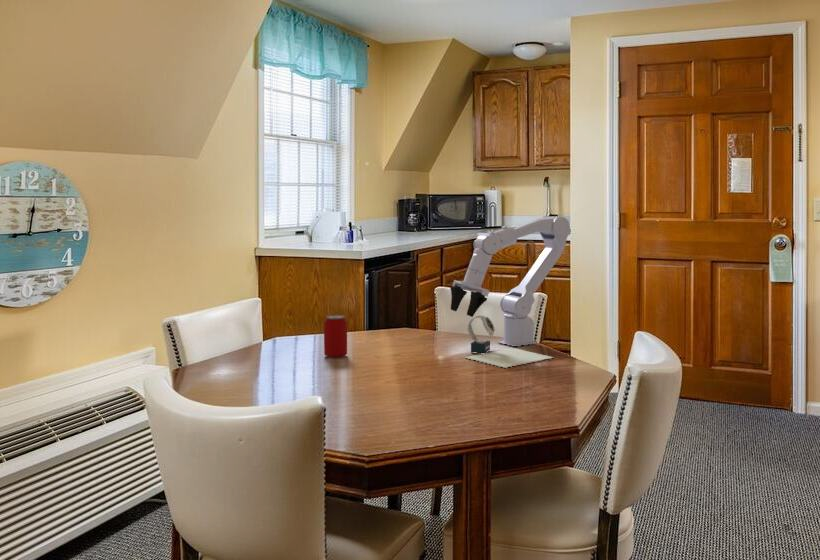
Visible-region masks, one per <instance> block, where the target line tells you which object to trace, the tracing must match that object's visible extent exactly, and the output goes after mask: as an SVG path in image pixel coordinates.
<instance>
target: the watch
mask: <svg viewBox="0 0 820 560" xmlns="http://www.w3.org/2000/svg"><path fill="white" fill-rule="evenodd" d="M475 319H480V320H481V322H482V326H483V328H484V329H485V331H486V332H487V333H488V335H489V337H488V338H487V339H485V340H483V339H482V340H481V339H478V338H477V336H476V334H475V333H474V330H473V326H472V322H473V321H474V320H475ZM467 332H468V334H469V337H470V338H471V340H472V341H473V342H470V353H471V352H477V353H486V352H487V351H488V350H490V351H491V339H492V338H493V336H494V333H495V326H494V324H493V322H492V320H491V319H490V318H489V317H488V316H485V315H477V316H475V317H474V316H473V317H471V319H470V320H469V322H468V324H467Z"/></svg>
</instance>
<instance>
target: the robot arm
mask: <svg viewBox="0 0 820 560" xmlns="http://www.w3.org/2000/svg"><path fill="white" fill-rule="evenodd" d="M537 232H538V233H539V234H540V236H541V239H542V240H543V243H544V246H545V247H544V249H543V251H542V252H541V253H540V255H538V258H537V259H536V260H535V262H534V263H533V264H532V266H531V267H530V269H529V270H528V272H527V273H526V275H525V276H524V277H523V279H522V280H521V282H520V283H519V284H518V285H517V286H515V287H514V288H512V289H510V291H509V292H508V293H507V294H504V296H502V297H501V299H500V301H499V302H500V303H499V306H500V309H501V311H502V312H503V340H500V341H499V342H500V343H504V344H508V345H507V346H509V345H512V346H511V347H513V346H518V347H522V346H521V345H524V346H528V344H529V345H534V344H536V341H534V336H535V334H534V333H535V332H534V331H535V326H534V325H535V323H534V320H533V318H532V317H531V316H529V314H530V312H531V311H532V306H533V304H534V302H535V301H536V299H535V296H534V295H535V293H536V292H537V290H538V289H539V287H540V285H541V284H542V283H543V281H544V280H545V278H546V277H547V275H548V274H549V273H550V271H552V270H551V269H553V267H554V265H555V264H556V263H557V262H558V260H559V259H560V257H561V256H562V254H563V253H564V250H565V246H566V243H567V239H568V236H570V235H571V233H572V230H571V225H570V222H569V220H568V218H566V217H564V216H548V215H546V216H545V215H544V216H542V217H538V218H535V219H533V220H531V221H528V222H526V223H524V224H521V225H518V226H517V227H514V228H513V227H512V226H507V225H503V226H501V229H500V228H499V229H498V230H495V231H493V230H491V231H489V232H488V234H480V235H478V237H477V238H476V239H475V240H474V241H473V249H474V250H473V253H472V257H471V259H470V261H469V265H468V267H467V270H466V272H465V275H464V279H463V280H456V279H454V280H453V283H452V286H450V289H449V290H450V294H451V295H450V296H451V301H450V311H453V312H457V311H458V309H459V307H460V304H461V302H462V300H463V299H464V298H465V296H466V295H467V294H468V292H470V299H469V305H468V307H467V310H466V316H469V317H471V318H474V315H475V314H476V312H477V311H478V310H479V308H480V307H481V306H482V305H484V303H485V302H487V300H488V298H487V297H488V296H489V294H490V290H489V289H487V288H483V287H482V284H483V282H484V279H485V276H486V274H487V271H488V268H489V265H490V263H491V261H492V257H493V255H495V254H497V253H498V252H499V250H502V249H504V248H506V247H509V246H511V245H512V246H513V245H515V244H516V243H517V240H518V239H520V238H522V237H526V236H529V235H532V234H535V233H537ZM504 344H503V345H504Z"/></svg>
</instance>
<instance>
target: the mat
mask: <svg viewBox="0 0 820 560" xmlns="http://www.w3.org/2000/svg"><path fill="white" fill-rule="evenodd" d="M465 358H467V359H466V360H469V359H471V360H470V361H473V360H476V361H475V362H477V361H479V362H478V363H481V362H483V363H482V364H485V363H487V364H486V365H489V364H491V365H490V366H493V365H495V366H494V367H496V366H498V367H497V368H500V367H503V368H502V369H504V368H506V369H509V368H508V367H511V368H513V367H512V366H516V365H521V364H526V363H530V362H535V361H540V360H544V359H550V360H552V359H551V358H554V357H553V356H549V355H545V354H541V353H537V352H531V351H527V350H523V349H518V348H508V349H502V350H497V351H489V352H488V353H485V354H474V355H470V356H465ZM540 362H541V361H540ZM535 363H536V362H535ZM526 365H527V364H526ZM521 366H522V365H521ZM516 367H517V366H516Z"/></svg>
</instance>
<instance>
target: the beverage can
mask: <svg viewBox="0 0 820 560" xmlns="http://www.w3.org/2000/svg"><path fill="white" fill-rule="evenodd" d="M324 319H325V320H324V321H323V341H324V342H323V345H324V346H323V347H324V349H323V350H324V352H323V353H324V356H325V357H327V358H330V359H342V358H344V357H345V356H347V355H348V322H347V319H346V318H345V315H341V314H329V315H326V317H325V318H324Z"/></svg>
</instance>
